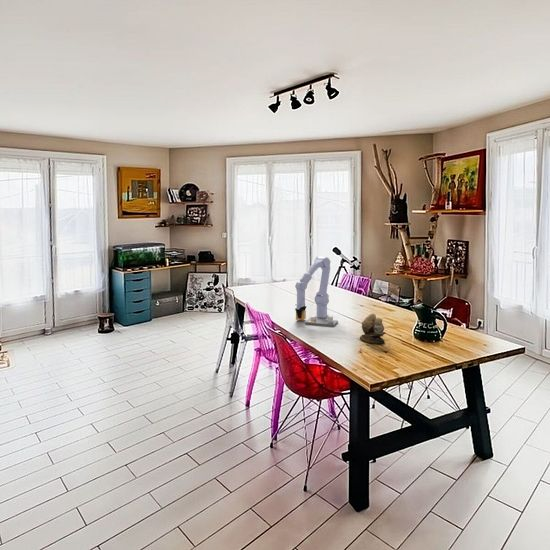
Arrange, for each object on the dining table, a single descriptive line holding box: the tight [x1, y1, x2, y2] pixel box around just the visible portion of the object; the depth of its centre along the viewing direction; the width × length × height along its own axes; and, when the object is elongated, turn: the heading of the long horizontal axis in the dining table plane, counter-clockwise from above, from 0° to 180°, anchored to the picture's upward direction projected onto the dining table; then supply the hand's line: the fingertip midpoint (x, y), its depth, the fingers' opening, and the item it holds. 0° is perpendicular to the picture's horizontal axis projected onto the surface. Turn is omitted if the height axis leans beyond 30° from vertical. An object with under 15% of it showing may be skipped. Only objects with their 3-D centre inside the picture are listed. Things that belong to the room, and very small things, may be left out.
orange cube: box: [295, 309, 307, 321], centre depth 309 cm, size 6×6×6 cm
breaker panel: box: [305, 317, 339, 328], centre depth 301 cm, size 12×20×2 cm, turn 70°
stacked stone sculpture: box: [359, 313, 386, 345], centre depth 260 cm, size 18×12×17 cm, turn 34°
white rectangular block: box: [310, 315, 317, 321], centre depth 303 cm, size 3×3×4 cm
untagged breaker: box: [327, 315, 334, 323], centre depth 299 cm, size 3×3×4 cm
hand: (300, 317), depth 309 cm, fingers closed on orange cube, 6 cm apart
